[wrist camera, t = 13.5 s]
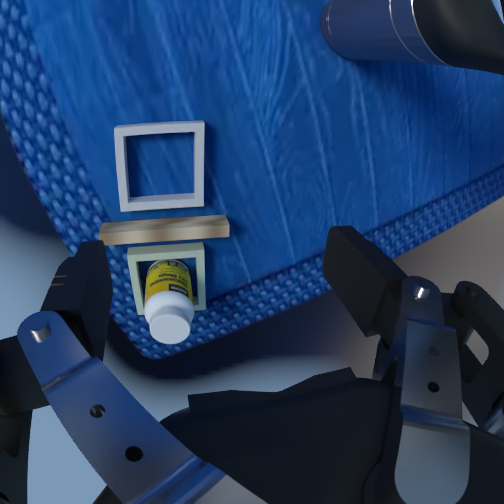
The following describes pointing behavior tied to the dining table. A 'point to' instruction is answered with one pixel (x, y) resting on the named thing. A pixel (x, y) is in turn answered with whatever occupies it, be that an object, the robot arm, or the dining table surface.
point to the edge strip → (164, 229)
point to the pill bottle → (169, 301)
